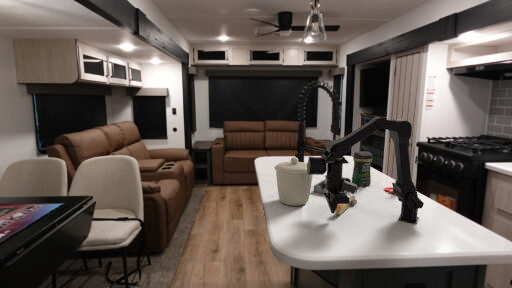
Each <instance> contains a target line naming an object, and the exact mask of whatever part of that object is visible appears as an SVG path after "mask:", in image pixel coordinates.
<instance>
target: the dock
mask: <svg viewBox="0 0 512 288" xmlns="http://www.w3.org/2000/svg"><path fill="white" fill-rule="evenodd" d="M325 181H326V178H325V179H323V180H321V181H320V182H318V183H316V184H314V185H313V193H314V194H315V193H316V194H321V195H324V193H326V190H325V188H324V189H323V190H321V188H320V184H321V183H322V182H325ZM355 185H356V184H355ZM356 186H357V185H356ZM341 193H345V194H346V195H347V196H348V191H344V192H341ZM357 204H358V199H355V200H354V201H352V205H351V207H355V206H356V205H357Z"/></svg>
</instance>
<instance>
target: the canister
mask: <svg viewBox="0 0 512 288" xmlns="http://www.w3.org/2000/svg"><path fill="white" fill-rule="evenodd" d="M307 164H308V162H302V161H299V158H298V157H294V156H293V157H291V158H290V161H283V162H279V163H278V164H276V165H275V166H274V167H273V168H274V171H275V175H276V184H277V185H276V187H277V194H278V199H279V201H280V202H281V203H282V204H284V205H286V206H290V207H291V206H292V207H298V206H304V205H305V204H307V203H308V202H309V199H310V194H311V187H312V181H313V175H308V173H307Z"/></svg>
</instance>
